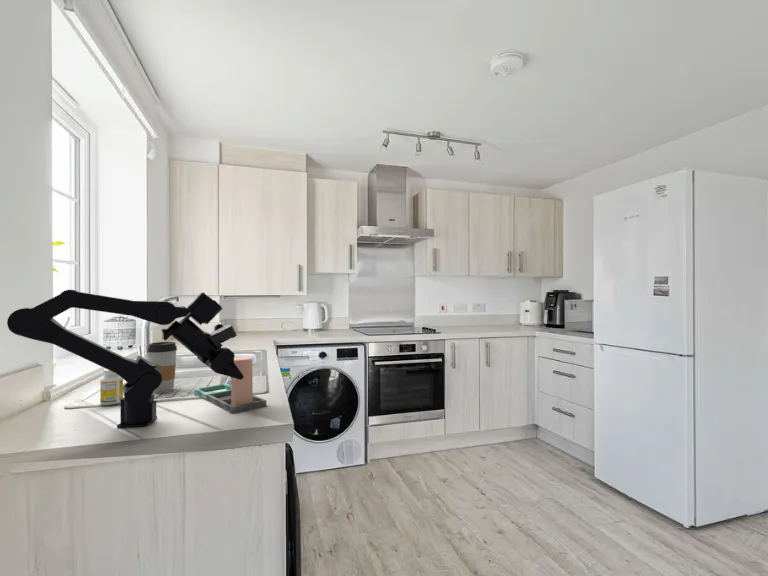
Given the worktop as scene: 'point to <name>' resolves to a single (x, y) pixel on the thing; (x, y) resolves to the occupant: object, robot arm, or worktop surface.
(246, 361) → the slim block
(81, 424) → the worktop surface
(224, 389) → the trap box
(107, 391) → the supplement bottle
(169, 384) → the coffee cup
